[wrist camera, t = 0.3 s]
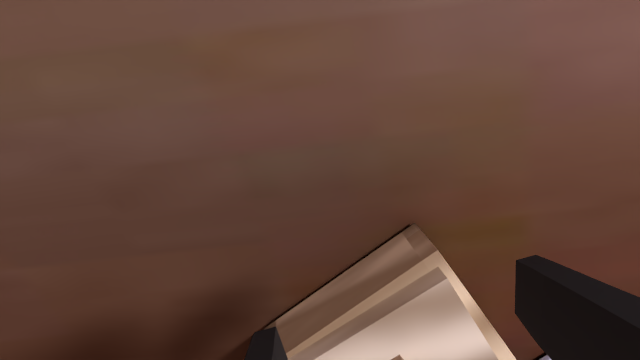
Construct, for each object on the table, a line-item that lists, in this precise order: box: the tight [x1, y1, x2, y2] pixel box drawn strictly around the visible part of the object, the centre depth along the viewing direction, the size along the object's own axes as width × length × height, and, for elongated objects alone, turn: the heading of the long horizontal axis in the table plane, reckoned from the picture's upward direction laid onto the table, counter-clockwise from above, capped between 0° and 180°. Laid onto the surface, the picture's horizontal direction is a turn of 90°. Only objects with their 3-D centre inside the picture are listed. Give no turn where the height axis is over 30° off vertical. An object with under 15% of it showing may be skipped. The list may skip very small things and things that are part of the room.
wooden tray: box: [264, 223, 516, 360], centre depth 22 cm, size 14×12×3 cm
